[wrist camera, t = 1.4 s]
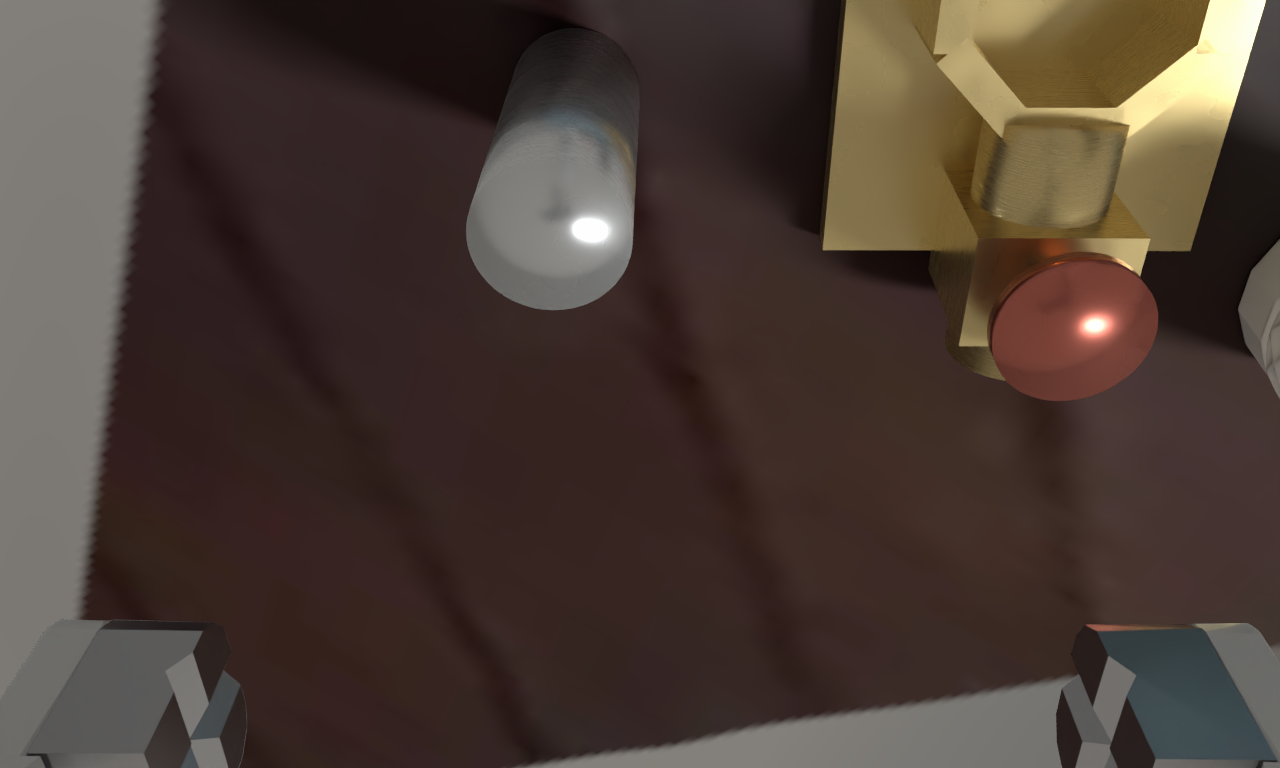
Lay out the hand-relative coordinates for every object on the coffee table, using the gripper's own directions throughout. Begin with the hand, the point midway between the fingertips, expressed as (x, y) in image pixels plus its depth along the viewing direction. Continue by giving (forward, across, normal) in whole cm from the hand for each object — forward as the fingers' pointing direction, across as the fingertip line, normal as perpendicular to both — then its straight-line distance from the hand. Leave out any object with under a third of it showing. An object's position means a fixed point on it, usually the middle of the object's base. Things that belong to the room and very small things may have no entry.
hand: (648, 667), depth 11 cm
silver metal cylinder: (+27, +2, +3) cm, 27 cm away
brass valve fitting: (+27, -11, +2) cm, 29 cm away
